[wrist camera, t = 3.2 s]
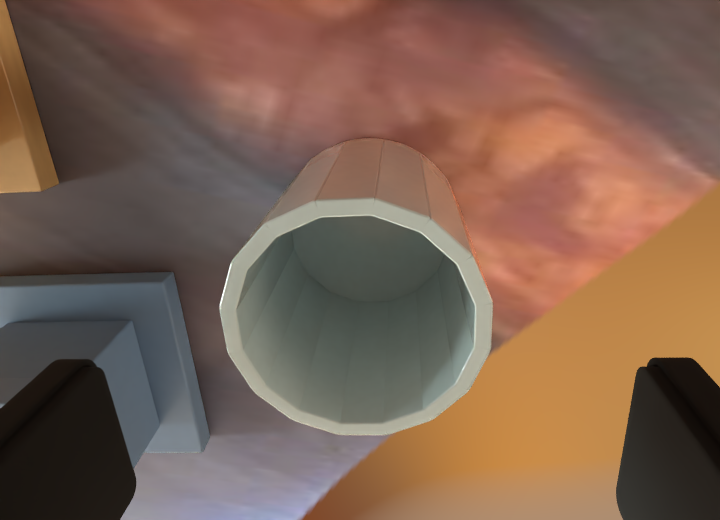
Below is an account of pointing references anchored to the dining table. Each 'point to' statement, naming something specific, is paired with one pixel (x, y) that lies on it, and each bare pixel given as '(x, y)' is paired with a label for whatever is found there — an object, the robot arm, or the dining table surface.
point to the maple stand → (20, 122)
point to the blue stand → (110, 349)
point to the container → (360, 294)
